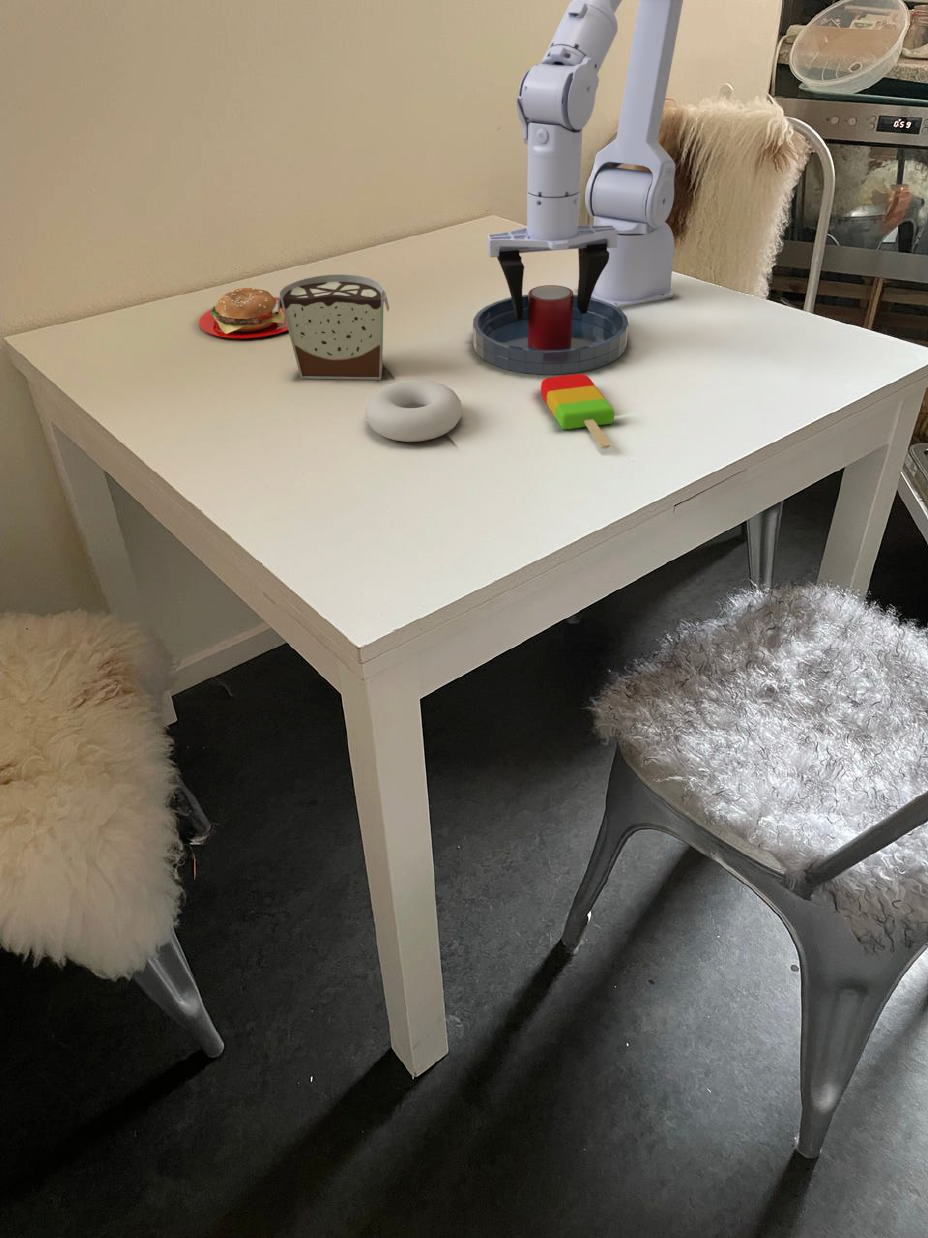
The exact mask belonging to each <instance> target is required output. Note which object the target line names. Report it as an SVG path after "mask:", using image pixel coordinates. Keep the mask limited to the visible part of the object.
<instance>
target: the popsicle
mask: <svg viewBox="0 0 928 1238" xmlns="http://www.w3.org/2000/svg"><path fill="white" fill-rule="evenodd" d="M540 396H541V398H542V399H543V401H544V402H545V403H546V405H547V407H548V409H549V410H550V412H551V413H552V415H553V417H554V418H555V419H556V421H557V422H558V424H559V426H560V428H561V429H562V430H564V431H565V430H571V429H572V430H573V429H581V428H587V430H588V431H589V432H590V434H591V435H592V437H593V438H594V440H595V441H596V443H597V444H598V445H599V447H600V448H601V449H609V448H610V447H611V442H610V441H609V440H608V438H607V437H606V436H605V434H604V432H603V431H602V429H601V428H600V426H603V425H611V424H613V423H614V420H615V410H614V409H613V407H612V405H610V403H609V402H608V400H607V399H606V398H605V397H604V395H603V394H602V392H601V391H600V390H599V389H598V387H597V386H596V384H595V383H594V382H593V380H592V379H591V378H590V377H589V376H587V374H583V373H572V374H563V375H558V376H551V377H546V378H544V379H543V380H542V381H541V384H540Z"/></svg>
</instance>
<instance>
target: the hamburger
mask: <svg viewBox="0 0 928 1238" xmlns="http://www.w3.org/2000/svg"><path fill="white" fill-rule="evenodd" d="M198 320H199V321H198V325H199V327H200V328H201V330H203V331H204V332H205V333H207V334H210V335H212V336H216V337H220V338H229V339H251V338H261V337H267V336H271V335H277V334H280V333H283V332H287V331H289V330H288V326H287V322H286V318H285V314H284V310H283V307H282V308H281V309H280V310H278V297H277V296H276V297H275V296H273V295H272V294H271V293H270V292H269V291H268V290H266V289H258V288H253V287H246V286H245V287H240V288H234V289H231V291H228V292H226V293H224V294H223V295H221V296H220V297H219V298H218V299H217V303H216V304H215V306H213V307H211V308H210V309H209V310H207V311H206V312H205V313H203V315H202V314H201V316H200V318H199V319H198Z"/></svg>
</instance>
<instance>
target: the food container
mask: <svg viewBox="0 0 928 1238" xmlns="http://www.w3.org/2000/svg"><path fill="white" fill-rule="evenodd" d="M277 298H278V310H280V309H281V308H282V307H283V310H284V314H285V318H286V322H287V326H288V330H287V331H288V334H289V338H290V342H291V346H292V350H293V355H294V358H295V362H296V366H297V369H298V373H299V378H300V379H301V380H303V379H304V380H358V381H359V380H362V381H363V380H364V381H365V380H366V381H367V380H368V381H369V380H370V381H372V380H373V381H382V379H383V351H384V350H383V349H384V347H383V345H384V344H383V342H384V305H385V308H386V311H387V312H389V311H390V305H389V300H388V298H387V294H386V291H385V290H384V288H383V285H382V284H381V283H380V282H379V281H377V280H375V279H373V278H370V277H367V276H363V275H358V274H348V273H347V274H346V273H345V274H344V273H343V274H342V273H341V274H340V273H338V274H337V273H336V274H335V273H334V274H333V273H332V274H323V275H322V274H321V275H316V276H310V277H306V278H302V279H299V280H296V281H293V282H291V283H288V284H287V285H286V286H284V287H282V288H281V289H280V290H279V296H278V297H277Z"/></svg>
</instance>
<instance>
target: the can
mask: <svg viewBox="0 0 928 1238" xmlns="http://www.w3.org/2000/svg"><path fill="white" fill-rule="evenodd" d="M573 294H574V291H573V290H572V289H571V288H570V287H567V286H564V285H557V284H556V285H555V284H546V285H538V286H535V287H533V288H531V289H530V290H529V291H528V294H527V295H528V345H529V346H530V347H532V348H534V349H538V350H562V349H565V348H567V347H569V346H570V345H571V339H572V314H573Z"/></svg>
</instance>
